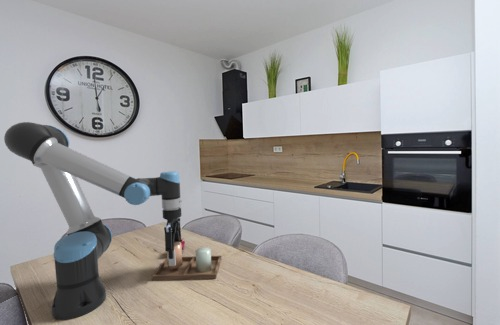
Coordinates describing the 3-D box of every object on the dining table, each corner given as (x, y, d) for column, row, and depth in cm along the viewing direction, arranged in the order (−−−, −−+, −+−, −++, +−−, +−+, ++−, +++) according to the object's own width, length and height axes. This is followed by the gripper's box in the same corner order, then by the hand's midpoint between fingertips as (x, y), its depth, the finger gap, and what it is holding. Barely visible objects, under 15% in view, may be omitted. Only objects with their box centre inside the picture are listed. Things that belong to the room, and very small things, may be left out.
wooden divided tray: (216, 280, 95) (215, 274, 94) (152, 282, 95) (151, 276, 95) (221, 260, 111) (221, 255, 111) (167, 262, 112) (166, 257, 112)
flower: (192, 247, 124) (184, 234, 125) (186, 251, 115) (177, 237, 116) (177, 258, 124) (169, 245, 125) (169, 263, 114) (160, 249, 116)
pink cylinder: (180, 268, 100) (178, 246, 100) (165, 268, 100) (164, 247, 100) (184, 261, 106) (183, 241, 106) (170, 262, 106) (169, 241, 106)
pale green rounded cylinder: (210, 272, 100) (209, 253, 99) (194, 272, 100) (193, 253, 99) (212, 264, 106) (211, 247, 106) (198, 265, 106) (197, 247, 106)
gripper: (173, 213, 92) (176, 272, 93) (186, 202, 111) (189, 252, 112) (153, 214, 92) (157, 273, 94) (170, 203, 111) (173, 252, 112)
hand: (174, 261), depth 103 cm, fingers closed on pink cylinder, 6 cm apart
